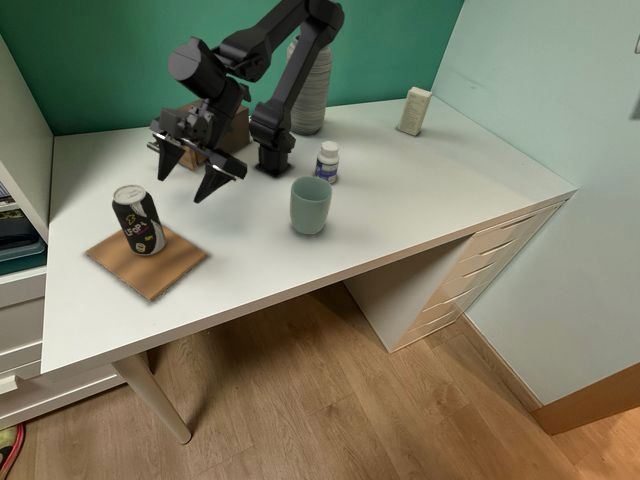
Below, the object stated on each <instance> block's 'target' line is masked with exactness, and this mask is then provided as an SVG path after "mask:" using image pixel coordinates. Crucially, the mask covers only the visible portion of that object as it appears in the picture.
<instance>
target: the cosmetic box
mask: <svg viewBox="0 0 640 480" xmlns="http://www.w3.org/2000/svg"><path fill="white" fill-rule="evenodd" d="M432 96H433V92H432V91H428V90H425V89H422V88H421V87H420V88H419V87H416V86H412V87H411V88H410V89H409V90H408V92H407V95H406V98H405V102H404V105H403V109H402V113H401V116H400V119H399V123H398V126H397V130H398V131H400V132H403V133H406V134H409V135H410V136H414V137H416V136H417V135H418V134H419V133H420V131H421V129H422V125H423V123H424V120H425V117H426V114H427V111H428V108H429V105H430V103H431V99H432Z"/></svg>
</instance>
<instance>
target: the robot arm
mask: <svg viewBox="0 0 640 480" xmlns="http://www.w3.org/2000/svg"><path fill="white" fill-rule="evenodd" d="M345 15H346V14H345V12H344V10H343V5H342V4H341V3H340V2H338V1H335V0H280V1H279V2H278V3H276V5H274V6H273V7H272V9H271V10H269V11H268V12H267V13H265V15H264V16H263V17H262V18H261V19H260V20H258V22H256V23H255V24H254V25H252V26H251V27H248V28H244V29H238V30H237V31H235V32H233V33H231V34H230V35H228V36H225V38H223V40H222V41H221V42H220V44H219V45H216V46H214V47H212V48H210V47H209V46H208V44H207V43H206V42H205V41H204V40H203V39H202V38H199V37H196V36H194V35H191V36H190V38H189V40H188V42H185V43H182V44H180V45H178V46H177V47H176V48H175V49H174V50H172V51H171V52H170V53H169V56H168V58H167V63H166V67H167V72H168V74H169V76H170V77H171V78H172V79H173V80H174V81H176V82H177V83H179V84H180V85H181V86H182V87H184V88H185V89H186V90H188V91H189V92H190V93H191V94H193V95H194V96H196V97H197V98H199V99H202V102H201V103H200V105H199V106H196V105H194V104H193V106H191V107H190V109H189V111H188V112H186V111H182V110H176V108H169V107H160V114H159V116H158V117H156V118H153V120H152V121H151V123H150V125H149V127H148V129H149V130H150V131H152V138H154V139H155V142H156V141H157V143H158V145H157V146H159V153H158V167H157V181H159V182H164V181H165V180H166V179H167V178H168V177H169V175H170V174H171V173H172V171H173V170H174V169H175V167H176V166H177V165H178V164H179V160H180V159H181V158H182V156H183V155H184V153H185V152H186V150H184V149H183V148H181V147H179V146H180V145H181V146H183V147H184V146H187V147H189V148H191V149H193V150H194V151H196V152H198V153H200V154H202V155H203V156H205V157H207V158H209V159H210V163H206V162H204V175H203V178H202V180H201V182H200V184H199V185H198V188H197V190H196V192H195V195H194V198H193V201H192V202H193V203H195V204H197V205H198V204H200V203H201V202H203V201H204V200H205V199H207V198H208V197H209V196H210V195H212V194H213V193H215V191H217V190H218V189H220V188H222V187H223V186H225V185H227V184H228V183H230V182H232V181H234V182H237V180H238V179H240V180H242V181H244V180H245V178H246V176H247V174H248V170H249V169H248V164H247V163H246V162H245V161H243V160H241V159H239V158H238V157H236V156H234V155H232V154H228V153H227V152H225V151H223V148H221V147H219V146H220V144H221V142H222V140H223V138H224V136H225V134H226V132H229V133H232V131H233V129H234V128H233V127H231V126H230V124H231V122H232V120H233V118H234V116H235V114H236V112H237V110H238V108H239V106H240V104H241V105H242V102H243V101H245V102H247V103H250V104H251V103H252V95H251V93H250V86H249V85H248V84H245V83H242V82H239V81H238V80H236V78H237V79H239V80H243V81H245V82H248V83H252V84H256V83H258V82H259V81H260V80H261V79H262V78H263V76H264V75H265V73H266V72H267V71H268V69H270V66H271V65H272V58H273V54H274V52H275V51H276V50H277V49H278V48H279V46H281V45H282V44H283V43H284V42H285V41H286V40H287V39H288V38H289V37H290V36H291V35H292V34H293V33H294V32H295V31H296V30H297V28H298V27H299V30H300V32H299V34H301V35H300V38H299V40H298V42H297V44H296V46H295V48H294V51H293V53H292V55H291V57H290V59H289V61H288V63H287V65H286V64H285V67H284V69H283V72H282V74H281V76H280V78H279V80H278V82H277V85H276V87H275V88H274V91H273V93H272V95H271V97H270V98H269V99H268V100H267V101H265V102H262V101H258V102H257V103H256V104H255V107H254V110H253V112H252V114H251V115H250V116H249V130H250V138H252V141H253V142H254V143H257V144H258V145H259V146H258V147H257V152H258V153H257V155H258V156H257V157H258V158H257V159H258V163H257V164H255V165H254V167H255V169H257V170H259V171H261V172H263V173H265V174H267V175H269V176H271V177H273V178H278V177H279V176H281V175H282V174H284V173H285V172H287V170H289V169H291V167H292V164H291V163H289V155H290V154H292V150H294V148H295V146H296V143H297V138H295V136H293V134H292V133H290V132H291V131H292V130H291V127H292V123H291V110H292V108H293V106H294V104H295V102H296V100H297V98H298V95H299V93H300V91H301V89H302V87H303V85H304V83H305V81H306V79H307V77H308V75H309V73H310V71H311V69H312V66H313V64H314V62H315V60H316V58H317V56H318V54H319V52H320V50H321V49H323V48H324V47H326V46H327V45H328V44H329V45H330V44H331V43H333V42H334V41H335V39H336V37H337V35H338V34H339V32H340V31H341V29H342V28H343V27H344V23H345V20H346V19H345V17H346V16H345ZM329 45H328V46H329ZM229 75H230V76H229ZM153 132H154V133H153ZM155 133H156V134H155ZM194 141H195V142H196V143H197V144H196V145H195V144H194ZM203 147H206V148H207V150H205V149H203ZM200 149H201V150H200ZM202 150H203V151H202ZM204 151H205V152H204Z"/></svg>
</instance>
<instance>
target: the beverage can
mask: <svg viewBox="0 0 640 480" xmlns="http://www.w3.org/2000/svg"><path fill="white" fill-rule="evenodd" d="M111 208H112V210H113V212H114V215H115V217H116V219H117V222H118V223H119V226H120V228H121V230H123V232H124V234H125V237H126V239H127V241H128V243H129V245H130V248H131V249H132V251H133V252H134V253H136V254H139V255H151V254H154V253H156V252H158V251H160V250H161V249H162V248H163V247H164V245H165V243H166V238H165V235H164V232H163V229H162V226H163V225H162V222H161V219H160V217H159V213H158V210H157V207H156V204H155V201H154V198H153V197H152V195H151V193H150V192H148V191H147V190H146V188H144V187H143V186H142V185H140V184H127V185H123V186H120V187H118V188H117V189H116V190H114V191H113V193H112V201H111ZM161 225H162V226H161Z"/></svg>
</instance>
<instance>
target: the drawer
mask: <svg viewBox="0 0 640 480" xmlns="http://www.w3.org/2000/svg"><path fill="white" fill-rule="evenodd" d="M194 144H195V145H196V144H197V143H196V142H195V141H194ZM146 147H147V148H148V149H150V150H151V151H152V152H155V153H157V154H159V146H158V143H157V141H156V140H155V141H154V142H152V141H148V142H147V143H146ZM179 147H181V148H183V149H184V150H186V152H185V153H184V155H183V156H182V158H181V159H180V160H179V162H178V164H181V165H183V166H184V167H186V168H188V169H190V170H192V171H194V170H196V169H197V168H198V165H197V163H198V164H200V163H202V162H204V161H205V160H206V159H208V158H207V157H205V156H203V155H202V154H200V153H198V152H196V151H194V150H193V149H191V148H189V147H187V146H184V147H183V146H181V145H180V146H179ZM203 149H205V150H207V148H206V147H203ZM200 150H201V149H200ZM202 151H203V150H202ZM204 152H205V151H204Z"/></svg>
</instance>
